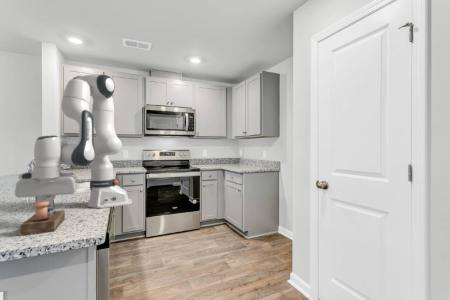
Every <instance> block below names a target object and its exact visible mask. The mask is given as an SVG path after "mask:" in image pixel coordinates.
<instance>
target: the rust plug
mask: <svg viewBox="0 0 450 300" xmlns="http://www.w3.org/2000/svg"><path fill="white" fill-rule="evenodd" d="M48 205H49V201H42V202H36V203H35V202H34V203H33V205H32V206H33V208H35V212H34V215H35V220H42V219H46V218H47V206H48Z"/></svg>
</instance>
